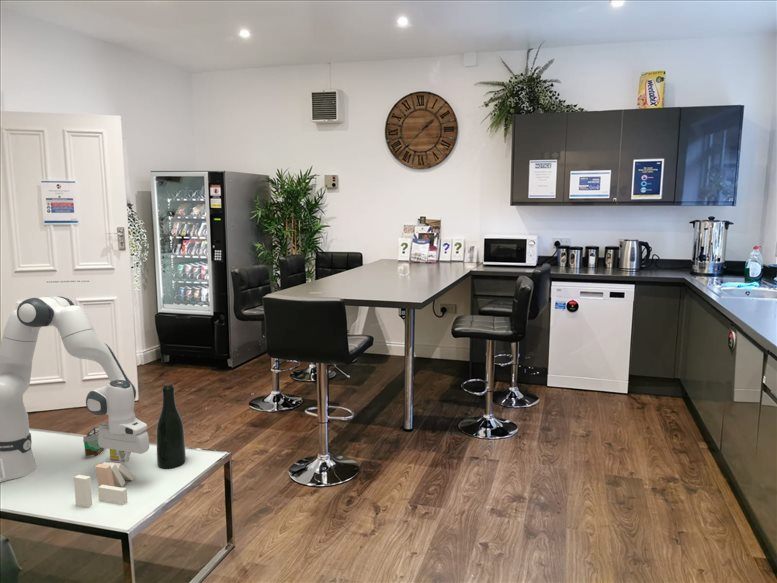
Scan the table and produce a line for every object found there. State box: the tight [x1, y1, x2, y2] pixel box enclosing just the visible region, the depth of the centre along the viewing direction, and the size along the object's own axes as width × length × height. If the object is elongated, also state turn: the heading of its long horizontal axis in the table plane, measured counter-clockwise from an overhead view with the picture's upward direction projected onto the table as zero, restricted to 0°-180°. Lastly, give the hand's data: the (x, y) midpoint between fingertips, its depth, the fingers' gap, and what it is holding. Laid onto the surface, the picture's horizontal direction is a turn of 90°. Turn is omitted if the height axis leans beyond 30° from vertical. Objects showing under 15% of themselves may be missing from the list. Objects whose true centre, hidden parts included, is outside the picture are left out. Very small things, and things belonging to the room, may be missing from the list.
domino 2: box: [94, 463, 115, 487], centre depth 204 cm, size 2×5×10 cm, turn 72°
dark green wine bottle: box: [155, 382, 187, 470], centre depth 225 cm, size 10×10×33 cm
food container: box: [82, 425, 104, 459], centre depth 236 cm, size 12×6×10 cm, turn 9°
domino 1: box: [73, 474, 93, 508], centre depth 195 cm, size 2×5×10 cm, turn 72°
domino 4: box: [97, 485, 128, 505], centre depth 198 cm, size 2×5×10 cm
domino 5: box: [108, 461, 136, 482], centre depth 211 cm, size 2×5×10 cm
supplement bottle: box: [109, 449, 125, 463], centre depth 231 cm, size 7×7×13 cm
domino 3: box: [102, 461, 126, 488], centre depth 207 cm, size 2×5×10 cm, turn 72°
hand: (124, 461), depth 212 cm, fingers closed
